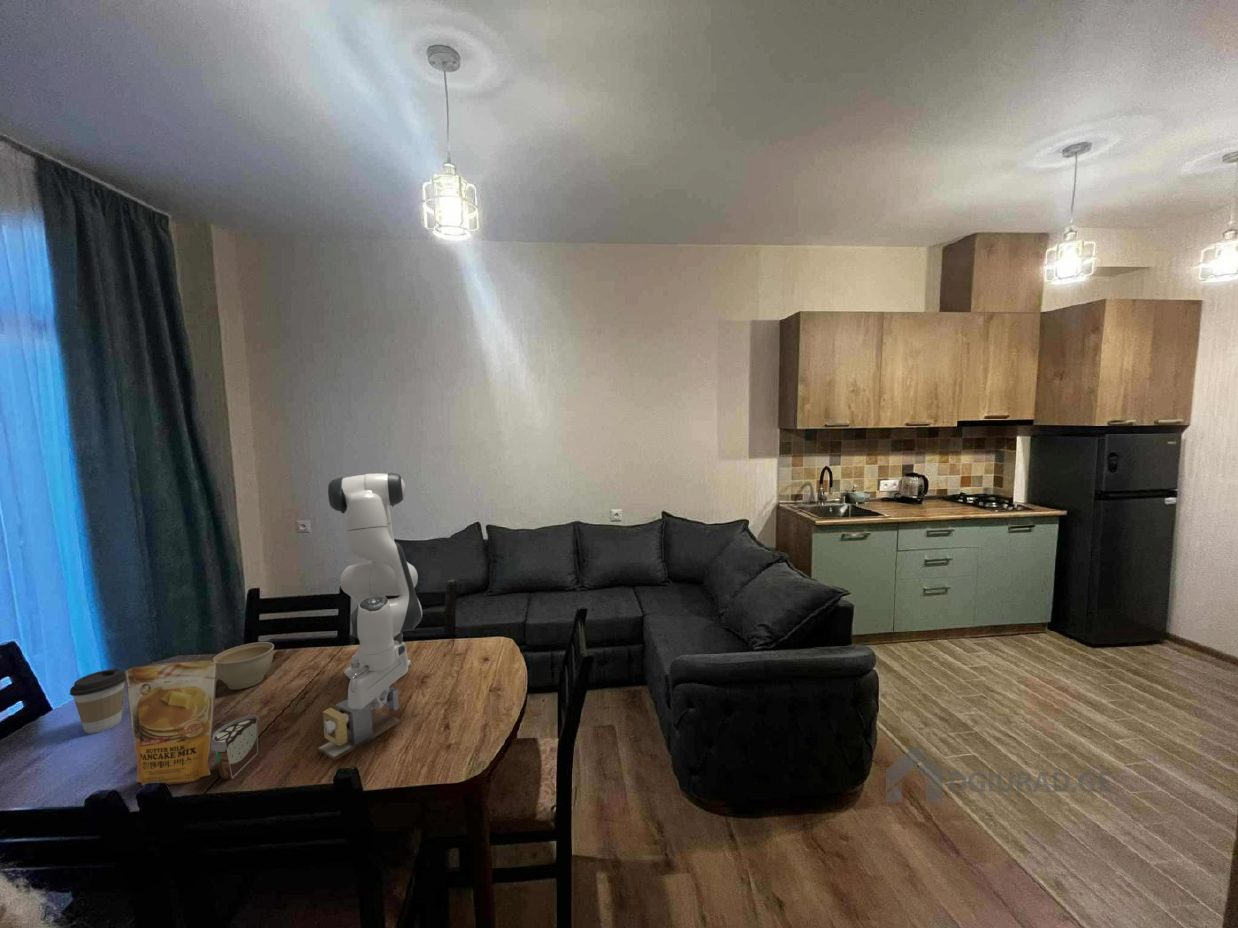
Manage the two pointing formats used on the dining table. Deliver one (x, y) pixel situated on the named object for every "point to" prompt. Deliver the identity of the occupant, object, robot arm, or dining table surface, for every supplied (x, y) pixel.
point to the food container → (236, 745)
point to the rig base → (378, 726)
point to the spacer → (340, 723)
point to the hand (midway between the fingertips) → (380, 706)
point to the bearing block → (357, 723)
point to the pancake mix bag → (172, 719)
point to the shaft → (391, 704)
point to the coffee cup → (99, 699)
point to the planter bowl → (244, 664)
